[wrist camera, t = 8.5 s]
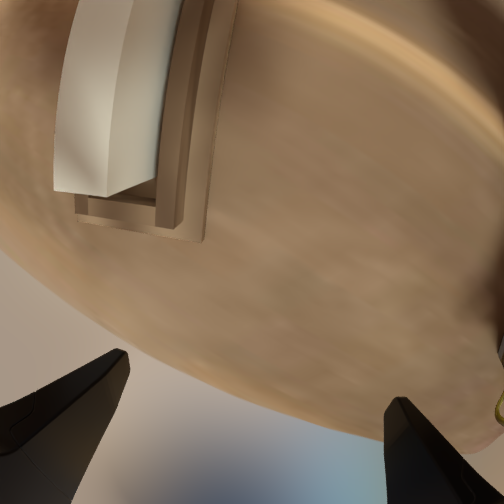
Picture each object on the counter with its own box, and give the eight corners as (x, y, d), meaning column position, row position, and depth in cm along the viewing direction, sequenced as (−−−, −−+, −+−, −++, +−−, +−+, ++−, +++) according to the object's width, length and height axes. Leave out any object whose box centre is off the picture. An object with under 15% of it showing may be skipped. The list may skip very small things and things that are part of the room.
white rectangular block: (185, 0, 13) (147, -41, 8) (158, 176, 18) (106, 197, 12) (137, 5, 13) (88, -27, 8) (112, 171, 18) (53, 190, 12)
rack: (247, -39, 12) (241, -59, 10) (204, 239, 20) (193, 254, 17) (116, -26, 13) (99, -38, 10) (83, 218, 20) (63, 228, 18)
